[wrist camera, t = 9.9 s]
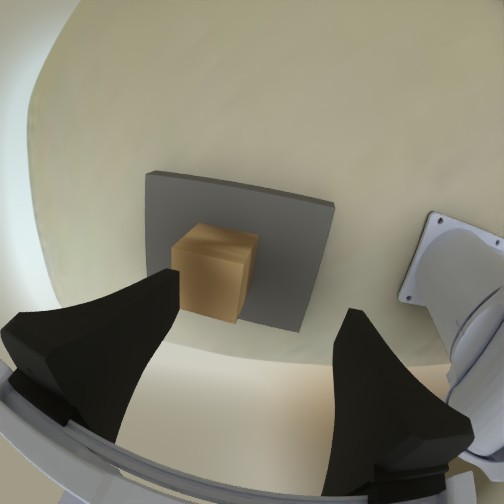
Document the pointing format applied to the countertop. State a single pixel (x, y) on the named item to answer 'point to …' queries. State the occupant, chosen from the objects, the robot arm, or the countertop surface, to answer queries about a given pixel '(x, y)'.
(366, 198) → the countertop surface
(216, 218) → the charcoal mat
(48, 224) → the countertop surface
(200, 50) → the countertop surface
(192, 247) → the oak cube
